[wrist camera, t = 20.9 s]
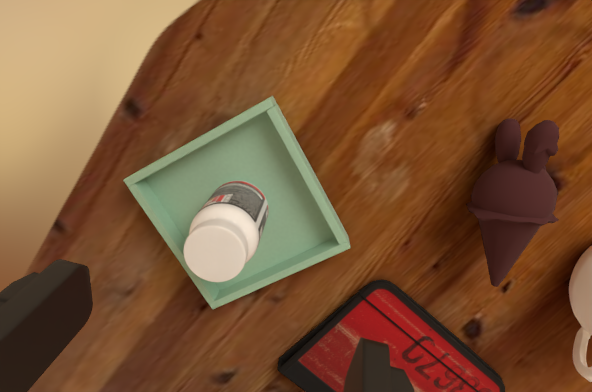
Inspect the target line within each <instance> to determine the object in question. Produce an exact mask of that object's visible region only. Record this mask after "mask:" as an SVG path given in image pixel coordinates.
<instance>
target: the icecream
mask: <svg viewBox="0 0 592 392" xmlns="http://www.w3.org/2000/svg"><path fill="white" fill-rule="evenodd" d="M558 139H559V128H558V126H557V125H556V124H555V123H554V122H553V121H550V120H544V121H542V122H541V123H539V124H537V125H535V126H534V127H533V128H532V129H531V130H530V131H529V132H528V133H527V136H526V138H525V142H524V146H525V147H524V151H523V156H522V160H516V159H517V157H518V154H519V148H520V142H521V133H520V125H519V123H518V122H517V120H515V119H506V120H503V122H502V123H501V124H500V125H499V126H498V130H497V133H496V136H495V150H496V156H497V159H498V162H499V163H498V164H494V165H492V166H491V167H490V168H489V169H487V170H486V171H485V172H483V173H482V175H481V176H480V177H479V178H478V180H477V181H476V182H475V184H474V187H473V190H472V194H471V199H472V201H471V202H469V203H467V204H466V205H467V206H468V210H469V211H470V212H471V213H474V214H475V216H476V217H477V218H478V220H479V225H480V230H481V235H482V239H483V244H484V249H485V254H486V259H487V264H488V269H489V275H490V280H491V284H492V285H493V286H496V287H498V286H499V284H500V283H501V282H502V281H503V279H504V278H505V276H506V275H507V273H508V272H509V271H510V269H511V268H512V266H513V265H514V263H515V262H516V260H517V259H518V258H519V256H520V255H521V253H522V252H523V250H524V249H525V248H526V246H527V245H528V243H529V242H530V240H531V239H532V238H533V236H534V235H535V233H536V232H537V230H538V229H539V227H540V226H541V225H544V224H546V223H547V222H548V223H554V222H556V221H558V219H557V218H556V217H555V216H554V215H553V214H552V213H553V211H554V210H555V205H556V200H557V195H558V191H557V189H556V187H555V184H554V181H553V180H552V178H551V177H550V176H549V174H548V173H547V172H546V166H545V165H546V163H547V162H548V160H549V157H550V156H553V155H555V154H556V153H557V151H558V146H557V142H558Z"/></svg>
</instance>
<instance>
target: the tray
mask: <svg viewBox="0 0 592 392" xmlns="http://www.w3.org/2000/svg"><path fill="white" fill-rule="evenodd" d="M123 181H124V182H125V184H126V185H127V186H128V188H129V190H130V191H131V193H132V194H133V195H134V197H135V198H136V200H137V201H138V203H139V204H140V206H141V207H142V208H143V210H144V211H145V213H146V214H147V216H148V217H149V219H150V220H151V221H152V223H153V224H154V226H155V227H156V229H157V230H158V232H159V233H160V234H161V236H162V237H163V239H164V240H165V242H166V243H167V245H168V246H169V247H170V249H171V250H172V252H173V253H174V255H175V256H176V258H177V259H178V260H179V262H180V263H181V265H182V266H183V268H184V269H185V271H186V272H187V273H188V275H189V276H190V278H191V279H192V281H193V282H194V284H195V285H196V286H197V288H198V289H199V291H200V292H201V294H202V295H203V297H204V298H205V299H206V301H207V302H208V304H209V305H210V307H211V308H212V309H215V308H217V307H220V306H222V305H224V304H226V303H229V302H231V301H233V300H235V299H238V298H240V297H242V296H244V295H246V294H249V293H251V292H253V291H255V290H258V289H260V288H262V287H264V286H267V285H269V284H271V283H273V282H276V281H278V280H280V279H282V278H285V277H287V276H289V275H291V274H294V273H296V272H298V271H300V270H303V269H305V268H307V267H309V266H312V265H314V264H316V263H318V262H320V261H323V260H325V259H327V258H329V257H332V256H334V255H336V254H338V253H341V252H343V251H345V250H347V249H350V243H349V237H348V235H347V233H346V231H345V229H344V227H343V225H342V223H341V222H340V220H339V218H338V216H337V214H336V212H335V210H334V209H333V207H332V205H331V203H330V201H329V199H328V197H327V196H326V194H325V192H324V190H323V188H322V186H321V184H320V183H319V181H318V179H317V177H316V175H315V173H314V171H313V169H312V168H311V166H310V164H309V162H308V160H307V158H306V156H305V155H304V153H303V151H302V149H301V147H300V145H299V143H298V142H297V140H296V138H295V136H294V134H293V132H292V130H291V129H290V127H289V125H288V123H287V121H286V119H285V117H284V116H283V114H282V112H281V110H280V108H279V106H278V104H277V103H276V101H275V99H274V97H273V96H271V97H269V98H268V99H266V100H264V101H262V102H261V103H259V104H257V105H255V106H253V107H252V108H250V109H248V110H246V111H244V112H243V113H241V114H239V115H237V116H236V117H234V118H232V119H230V120H228V121H227V122H225V123H223V124H221V125H220V126H218V127H216V128H214V129H212V130H211V131H209V132H207V133H205V134H203V135H202V136H200V137H198V138H196V139H195V140H193V141H191V142H189V143H187V144H186V145H184V146H182V147H180V148H178V149H177V150H175V151H173V152H171V153H170V154H168V155H166V156H164V157H162V158H161V159H159V160H157V161H155V162H153V163H152V164H150V165H148V166H146V167H145V168H143V169H141V170H139V171H137V172H136V173H134V174H132V175H130V176H129V177H127V178H125V179H124V180H123ZM230 181H246V182H249V183H251V184H253V185H255V186H256V187H257V188H259V189H260V190H261V191H262V193H263V194H264V196H265V197H266V200H267V203H268V218H267V221H266V224H265V227H264V230H263V233H262V236H261V238H260V242H259V245H258V248H257V250H256V252H255V254H254V255H253V256H252V258H251V259H250V260H249V261H248V262H247V263H245V265H244V267H243V269H242V270H241V272H240V273H239V274H238V275H237V276H235V277H234V278H232V279H230V280H228V281H224V282H211V281H207V280H204V279H202V278H200V277H198V276H197V275H196V274H194V273H193V272H192V271H191V270H190V268H189V267H188V265H187V264H186V261H185V258H184V244H185V241H186V239H187V237H188V236H189V230H190V226H191V223H192V221H193V219H194V217H195V216H196V214H197V213H198V212H199V211H200V209H201V208H202V207H203V206H204V204H205V203H206V202H207V201H208V200H209V198H210V197H211V196H212V194H213V193H214V192H215V191H216V190H217V189H218V188H219V187H220V186H221V185H223V184H225V183H227V182H230Z"/></svg>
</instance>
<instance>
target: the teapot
mask: <svg viewBox="0 0 592 392" xmlns="http://www.w3.org/2000/svg"><path fill="white" fill-rule="evenodd" d="M569 299H570V303H571V307H572V310H573V313H574V315H575V317H576V318H577V320H578V321H579V323H580V325H581V326H582V327H581V328H580V329H579V330H578V332H577V334H576V337H575V341H574V346H573V363H574V366H575V368H576V370H577V371H578V372H579V373H580V374H581V375H582V376H583V377H585V378H586V379H587V380H588V381H590V382H592V367H588V366H587V363H586V351H587V345H588V340H589V339H591V338H590V336H591V335H592V245H591V246H590V247H589V248H588V249H587V250H586V251H585V252H584V253H583V254H582V255H581V257H580V258H579V260H578V262H577V263H576V265H575V267H574V269H573V272H572V274H571V278H570V282H569Z"/></svg>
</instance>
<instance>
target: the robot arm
mask: <svg viewBox="0 0 592 392" xmlns="http://www.w3.org/2000/svg"><path fill="white" fill-rule="evenodd" d="M92 306H93V302H92V293H91V284H90V275H89V269H88V267H87V266H85V265H81V264H77V263H73V262H70V261H66V260H62V259H59V260H56V261H54V262H53V263H52V264H50V265H49V266H48V267H47V268H46V269H45V270H43V271H42V272H41V273H40V274H39V273H35V272H34V273H32V274H30V275H27V276H25V277H23V278H21V279H19V280H17V281H15V282H13V283H11V284H10V285H9V286H8V287H6V288H5V289H4V290H3V291H1V292H0V392H27V391H28V390H29V389H30V388H31V387H32V385H33V384H34V383H35V382H36V381H37V380H38V378H39V377H40V376H41V375H42V374H43V373H44V371H45V370H46V369H47V368H48V367H49V366H50V365H51V363H52V362H53V361H54V360H55V359H56V358H57V356H58V355H59V354H60V353H61V352H62V351H63V349H64V348H65V347H66V346H67V345H68V344H69V342H70V341H71V340H72V339H73V338H74V337H75V335H76V334H77V333H78V332H79V331H80V330H81V328H82V327H83V326H84V325H85V324H86V322H87V320H88V319H89V316H90V314H91V311H92ZM343 392H415V391H414V388H413V386H412V384H411V382H410V380H409V378H408V376H407V374H406V372H405V370H404V369H400V368H396V367H392V366H390V352H389V346H388V344H385V343H381V342H377V341H373V340H369V339H366V338H362V337H361V338H360V340H359V342H358V345H357V348H356V350H355V353H354V356H353V358H352V361H351V363H350V366H349V369H348V372H347V375H346V379H345V384H344V391H343Z"/></svg>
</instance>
